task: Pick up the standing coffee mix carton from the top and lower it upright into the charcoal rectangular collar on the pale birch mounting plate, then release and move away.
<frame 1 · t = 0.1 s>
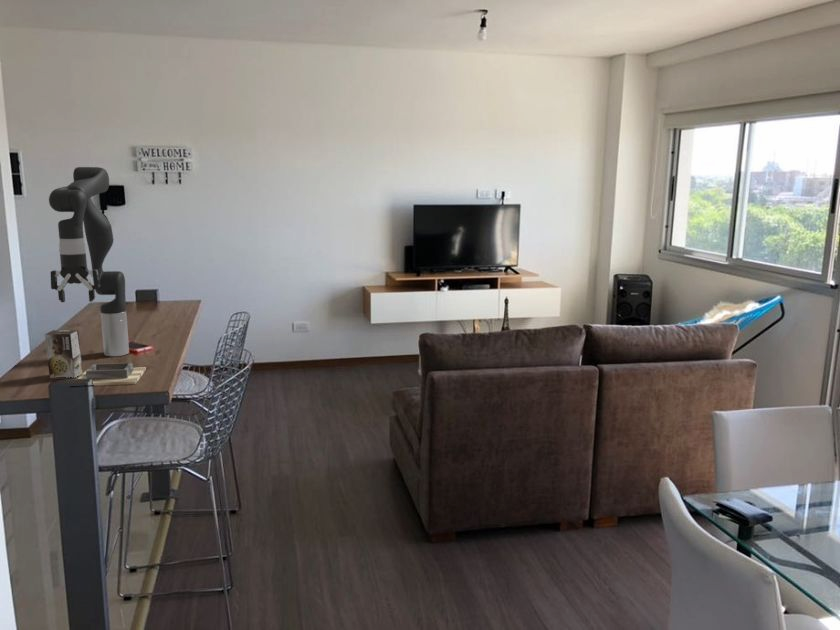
hand: (77, 301, 220), 29 cm above the table, tool pointing down, fingers open, 8 cm apart
coffee box: (66, 376, 238), on the table
mount plate: (110, 377, 236), on the table
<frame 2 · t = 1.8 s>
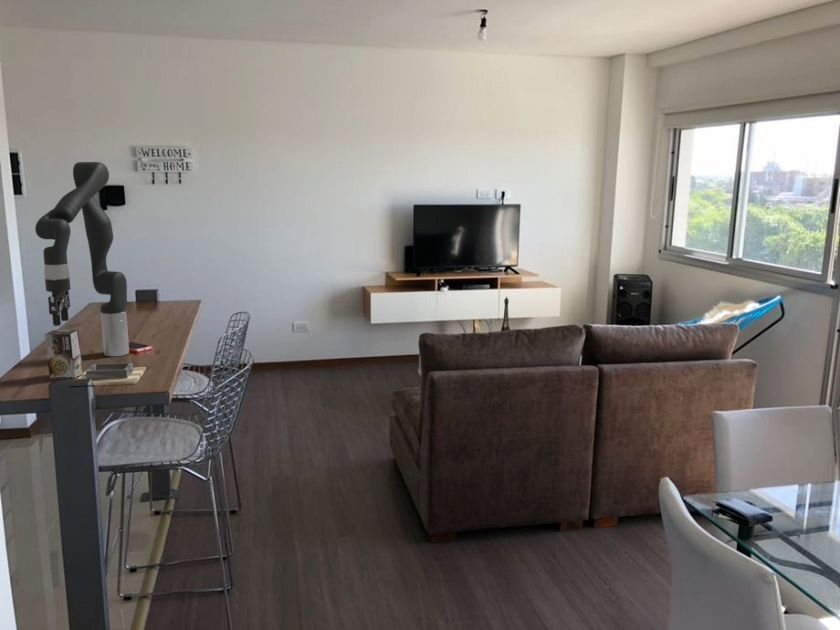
hand: (61, 323, 234), 19 cm above the table, tool pointing down, fingers open, 8 cm apart
nothing on the table moved.
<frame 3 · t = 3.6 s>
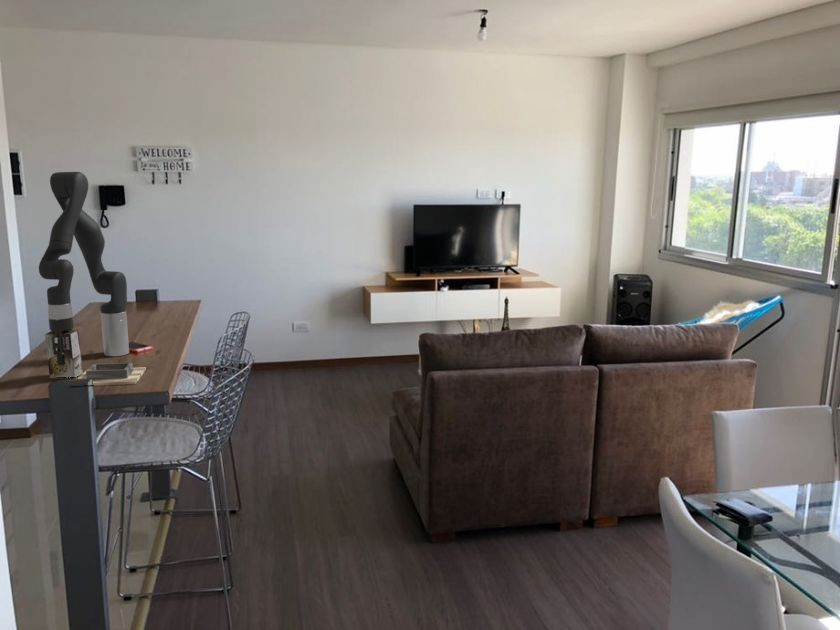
hand: (64, 362, 237), 5 cm above the table, tool pointing down, fingers closed on coffee box, 7 cm apart
coffee box: (66, 376, 238), on the table, touching gripper
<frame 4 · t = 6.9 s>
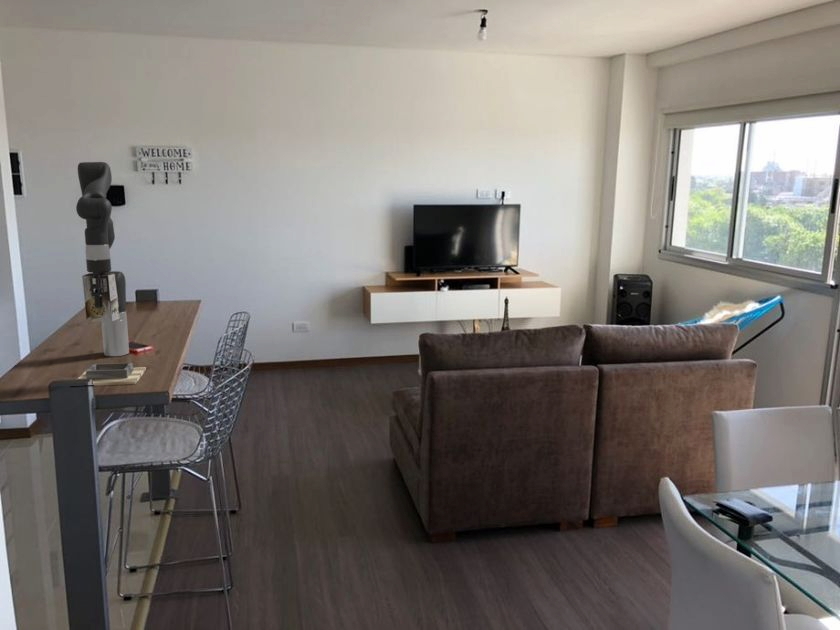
hand: (102, 305, 231), 26 cm above the table, tool pointing down, fingers closed on coffee box, 7 cm apart
coffee box: (103, 320, 232), point 21 cm above the table, touching gripper
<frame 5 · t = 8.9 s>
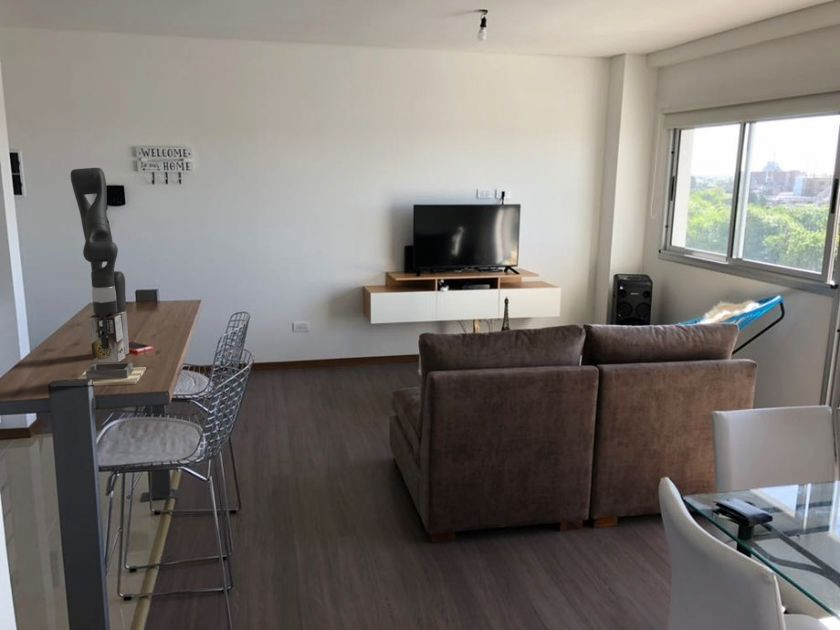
hand: (108, 345, 234), 12 cm above the table, tool pointing down, fingers closed on coffee box, 7 cm apart
coffee box: (109, 360, 235), point 6 cm above the table, touching gripper
when the fingers open (7 cm above the table, at t = 10.4 s): coffee box drops 1 cm, resting on mount plate.
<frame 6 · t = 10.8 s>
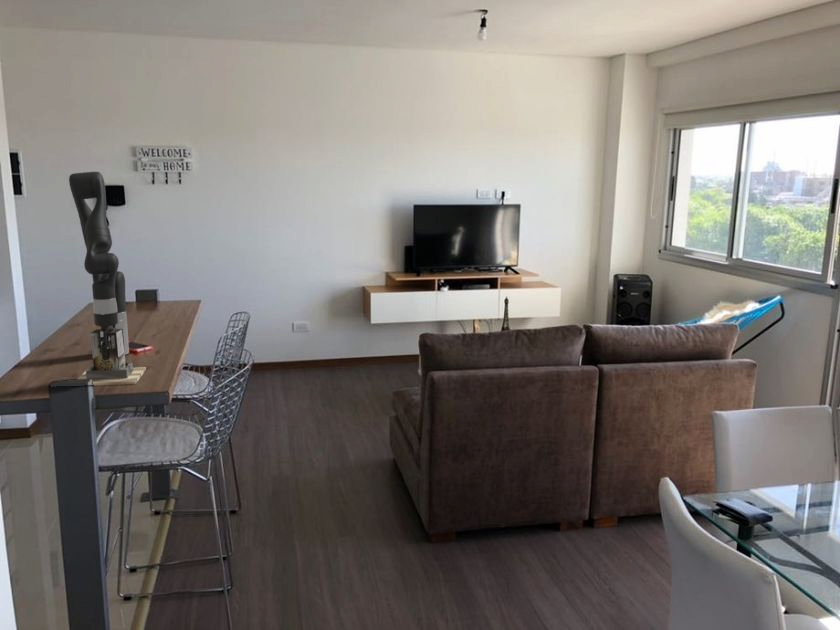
hand: (109, 356, 235), 8 cm above the table, tool pointing down, fingers open, 8 cm apart
coffee box: (110, 375, 236), point 1 cm above the table, touching mount plate
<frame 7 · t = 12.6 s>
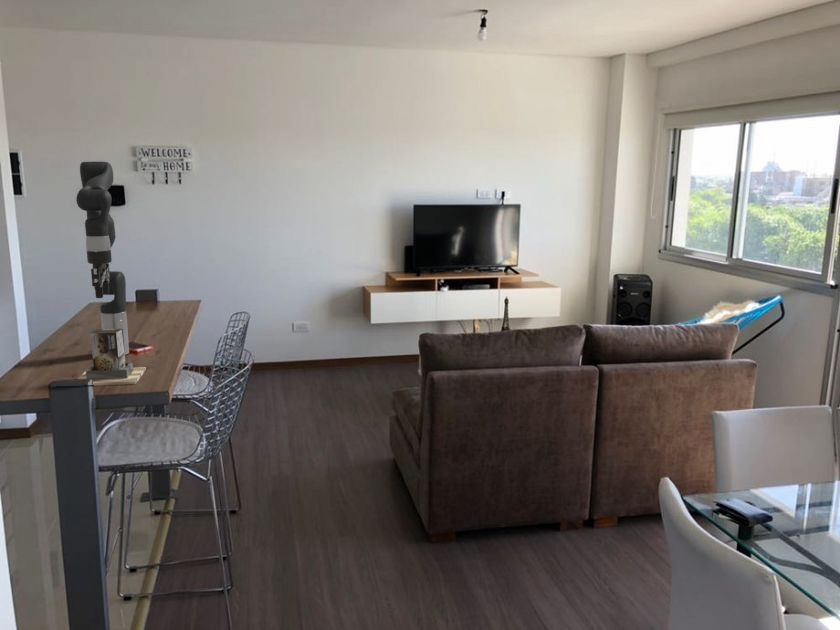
hand: (102, 295, 232), 29 cm above the table, tool pointing down, fingers open, 8 cm apart
nothing on the table moved.
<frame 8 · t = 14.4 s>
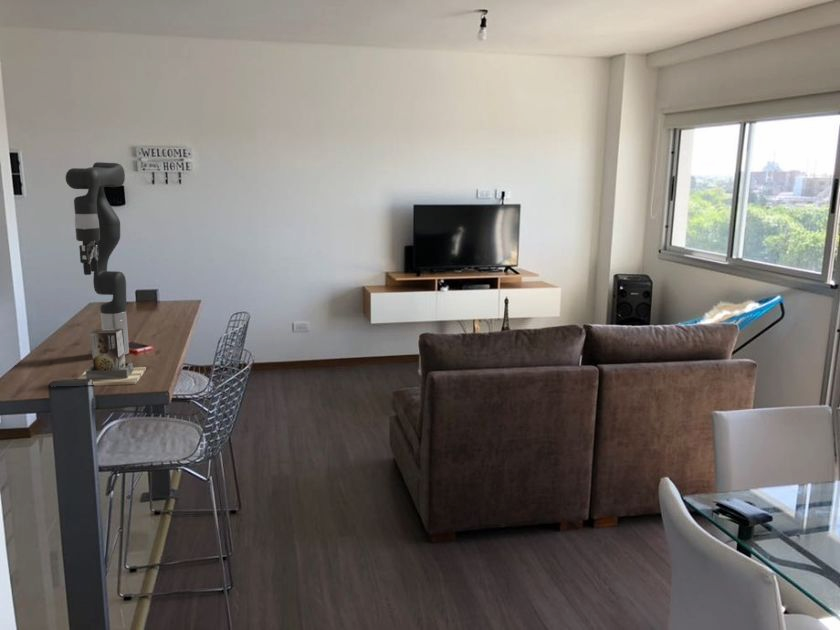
hand: (91, 273, 237), 36 cm above the table, tool pointing down, fingers open, 8 cm apart
nothing on the table moved.
at the end: coffee box 0.2 cm off-centre on the mount plate, point 0.8 cm above the mount plate's base; coffee box tilted 0°; the gripper is holding nothing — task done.
